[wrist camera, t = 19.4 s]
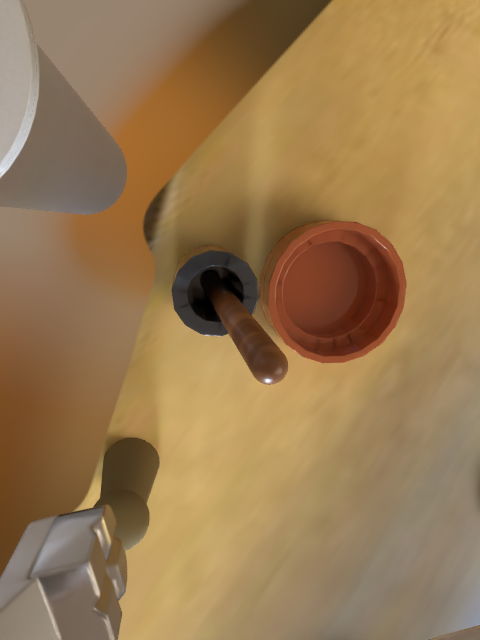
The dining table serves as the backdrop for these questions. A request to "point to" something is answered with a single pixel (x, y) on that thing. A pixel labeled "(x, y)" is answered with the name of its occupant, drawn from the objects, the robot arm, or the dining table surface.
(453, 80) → the dining table surface
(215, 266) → the utensil pot
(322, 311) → the bowl
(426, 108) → the dining table surface
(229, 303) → the stirring stick
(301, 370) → the dining table surface
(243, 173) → the dining table surface
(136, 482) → the pepper mill
